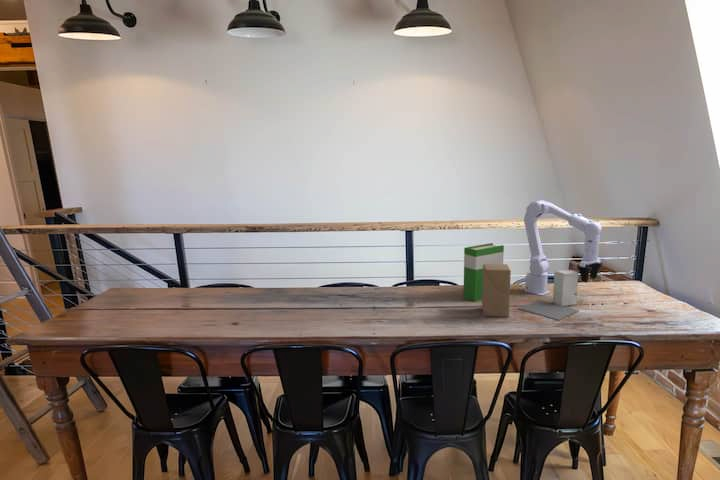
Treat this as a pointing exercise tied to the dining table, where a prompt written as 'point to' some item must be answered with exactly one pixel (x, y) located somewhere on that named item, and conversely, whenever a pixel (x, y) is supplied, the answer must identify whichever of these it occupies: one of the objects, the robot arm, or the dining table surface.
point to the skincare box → (565, 287)
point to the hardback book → (479, 267)
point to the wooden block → (496, 290)
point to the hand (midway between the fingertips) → (588, 279)
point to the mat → (549, 310)
